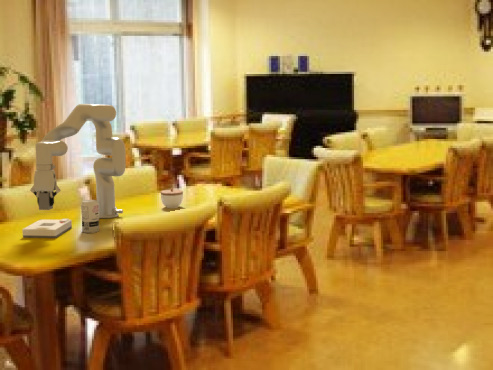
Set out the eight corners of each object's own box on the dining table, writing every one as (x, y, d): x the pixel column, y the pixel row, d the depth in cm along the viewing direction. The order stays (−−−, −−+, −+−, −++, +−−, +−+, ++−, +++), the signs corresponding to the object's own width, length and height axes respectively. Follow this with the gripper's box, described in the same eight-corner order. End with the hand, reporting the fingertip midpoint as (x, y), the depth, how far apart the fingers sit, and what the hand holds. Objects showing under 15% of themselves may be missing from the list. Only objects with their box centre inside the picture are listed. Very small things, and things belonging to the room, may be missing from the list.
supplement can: (83, 229, 355) (82, 199, 353) (100, 229, 356) (99, 199, 353) (81, 233, 347) (79, 202, 345) (98, 233, 348) (97, 202, 345)
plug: (52, 208, 349) (52, 186, 348) (49, 209, 345) (48, 188, 343) (42, 207, 350) (42, 186, 348) (39, 209, 345) (38, 188, 344)
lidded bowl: (182, 209, 405) (181, 189, 403) (159, 209, 405) (159, 189, 404) (184, 205, 418) (183, 186, 416) (162, 205, 418) (162, 186, 416)
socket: (71, 227, 360) (71, 218, 359) (55, 238, 338) (55, 228, 337) (40, 227, 361) (40, 217, 360) (22, 237, 340) (22, 227, 339)
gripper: (64, 167, 347) (65, 204, 350) (30, 166, 349) (31, 203, 352) (58, 169, 340) (60, 207, 342) (24, 168, 342) (25, 206, 344)
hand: (45, 205), depth 347 cm, fingers closed on plug, 5 cm apart
